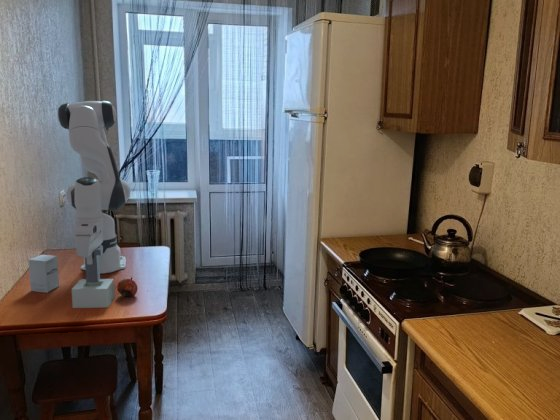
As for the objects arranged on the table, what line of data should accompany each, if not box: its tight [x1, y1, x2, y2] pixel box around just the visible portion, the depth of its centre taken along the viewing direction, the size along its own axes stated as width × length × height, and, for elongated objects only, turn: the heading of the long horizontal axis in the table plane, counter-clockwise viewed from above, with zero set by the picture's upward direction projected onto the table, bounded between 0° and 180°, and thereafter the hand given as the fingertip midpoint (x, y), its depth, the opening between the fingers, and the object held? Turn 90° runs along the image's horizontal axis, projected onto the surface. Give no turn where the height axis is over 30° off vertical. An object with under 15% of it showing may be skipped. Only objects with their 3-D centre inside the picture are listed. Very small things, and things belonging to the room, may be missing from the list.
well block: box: [71, 278, 116, 309], centre depth 169 cm, size 10×12×7 cm
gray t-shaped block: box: [85, 248, 103, 282], centre depth 167 cm, size 3×7×12 cm, turn 96°
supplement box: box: [28, 254, 60, 293], centre depth 180 cm, size 7×7×13 cm
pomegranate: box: [116, 277, 139, 301], centre depth 175 cm, size 7×7×10 cm
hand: (92, 261), depth 167 cm, fingers closed on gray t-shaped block, 3 cm apart
